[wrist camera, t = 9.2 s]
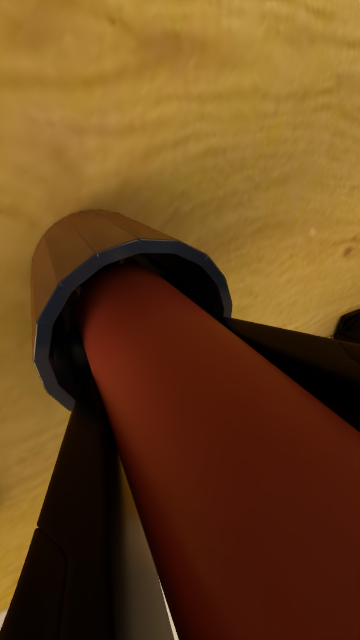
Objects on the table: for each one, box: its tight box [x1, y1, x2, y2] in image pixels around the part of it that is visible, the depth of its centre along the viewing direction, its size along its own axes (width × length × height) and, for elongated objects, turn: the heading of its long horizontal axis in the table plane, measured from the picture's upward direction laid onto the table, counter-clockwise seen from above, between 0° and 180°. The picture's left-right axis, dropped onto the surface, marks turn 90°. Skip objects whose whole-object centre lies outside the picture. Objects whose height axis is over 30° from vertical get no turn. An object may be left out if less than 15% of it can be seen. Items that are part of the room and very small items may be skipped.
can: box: [30, 210, 232, 412], centre depth 11 cm, size 7×7×7 cm
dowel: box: [75, 264, 360, 640], centre depth 7 cm, size 4×4×10 cm
